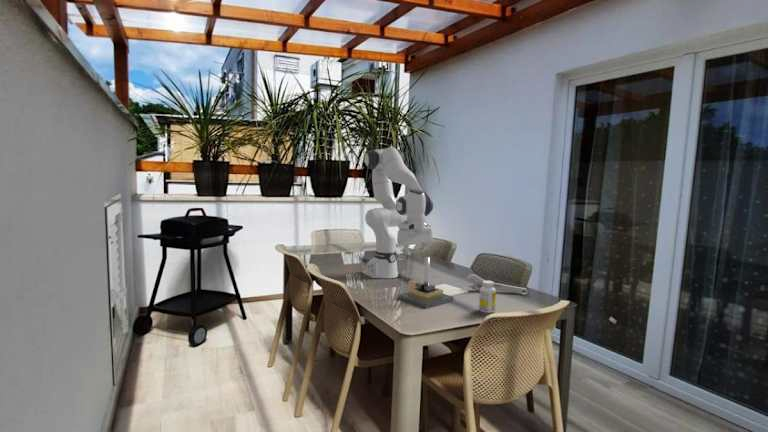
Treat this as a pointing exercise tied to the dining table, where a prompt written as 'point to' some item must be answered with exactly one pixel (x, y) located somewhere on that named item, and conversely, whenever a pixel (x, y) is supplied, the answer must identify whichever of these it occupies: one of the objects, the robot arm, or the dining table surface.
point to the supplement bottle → (487, 297)
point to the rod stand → (426, 288)
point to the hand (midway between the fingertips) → (415, 253)
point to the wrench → (478, 285)
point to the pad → (451, 290)
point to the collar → (422, 295)
